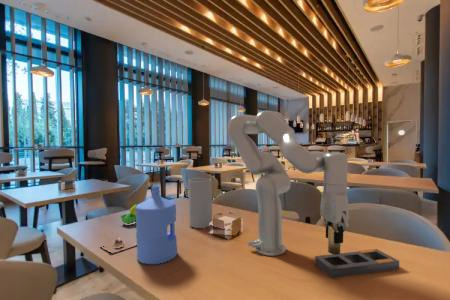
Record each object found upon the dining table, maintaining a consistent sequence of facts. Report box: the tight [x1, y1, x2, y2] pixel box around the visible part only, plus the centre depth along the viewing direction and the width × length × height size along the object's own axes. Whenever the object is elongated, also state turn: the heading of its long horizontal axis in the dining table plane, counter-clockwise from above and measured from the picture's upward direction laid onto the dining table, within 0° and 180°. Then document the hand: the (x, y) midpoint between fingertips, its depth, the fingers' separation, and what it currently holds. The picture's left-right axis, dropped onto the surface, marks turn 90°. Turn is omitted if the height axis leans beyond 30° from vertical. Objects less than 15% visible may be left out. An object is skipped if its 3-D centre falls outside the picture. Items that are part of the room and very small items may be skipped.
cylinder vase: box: [187, 177, 213, 229], centre depth 140 cm, size 12×12×25 cm
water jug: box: [135, 185, 178, 265], centre depth 103 cm, size 16×16×28 cm
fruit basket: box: [120, 203, 139, 224], centre depth 146 cm, size 11×9×11 cm
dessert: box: [113, 237, 124, 247], centre depth 114 cm, size 12×12×5 cm
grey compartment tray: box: [314, 248, 400, 280], centre depth 92 cm, size 26×10×3 cm, turn 101°
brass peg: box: [327, 224, 341, 255], centre depth 90 cm, size 4×4×9 cm
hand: (334, 239), depth 90 cm, fingers closed on brass peg, 4 cm apart
